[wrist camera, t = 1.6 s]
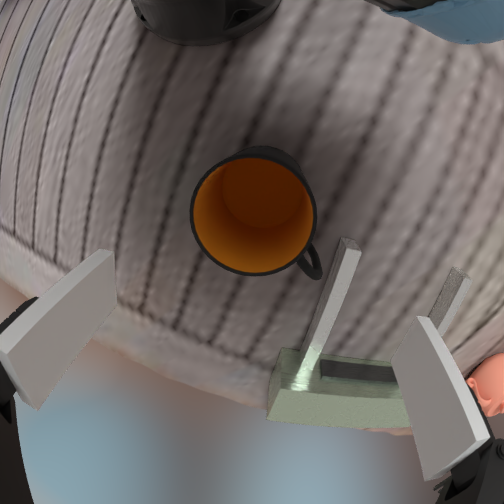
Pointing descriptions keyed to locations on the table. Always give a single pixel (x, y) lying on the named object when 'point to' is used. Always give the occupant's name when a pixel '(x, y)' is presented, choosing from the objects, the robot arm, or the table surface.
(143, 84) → the table surface
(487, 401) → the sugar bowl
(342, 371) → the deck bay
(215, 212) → the mug
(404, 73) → the table surface
